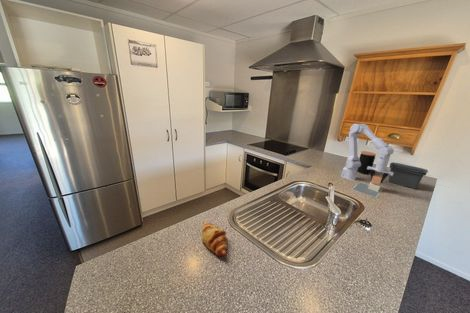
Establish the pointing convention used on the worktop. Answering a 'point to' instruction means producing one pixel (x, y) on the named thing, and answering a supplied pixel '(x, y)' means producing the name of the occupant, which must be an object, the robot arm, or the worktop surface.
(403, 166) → the storage bin
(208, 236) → the croissant
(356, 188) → the board
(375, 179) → the terracotta block
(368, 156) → the coffee jar
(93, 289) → the worktop surface
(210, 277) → the worktop surface
